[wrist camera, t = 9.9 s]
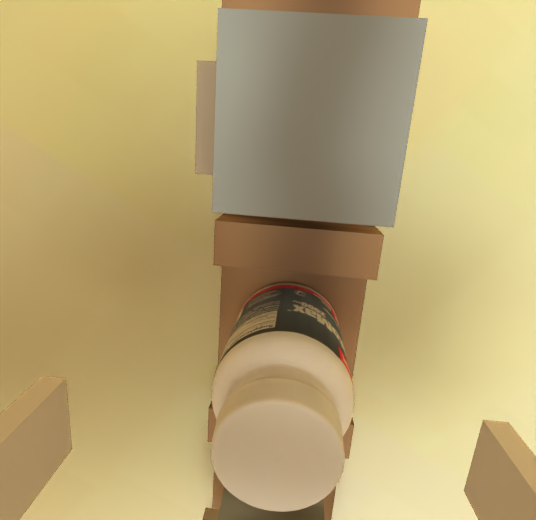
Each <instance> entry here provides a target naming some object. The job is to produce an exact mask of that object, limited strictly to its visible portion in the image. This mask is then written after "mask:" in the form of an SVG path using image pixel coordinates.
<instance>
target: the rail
mask: <svg viewBox="0 0 536 520" xmlns="http://www.w3.org/2000/svg"><path fill="white" fill-rule="evenodd" d="M420 2H421V0H222V8H218V33H217V62H212V61H197V106H196V163H195V173H196V174H209V175H213V197H212V212H217V213H224V214H223V215H222V216H220V217H219V218H218V219H216V220H215V235H214V265H220V266H222V277H221V303H220V329H219V354H218V364H219V362H220V359H221V356H222V354H223V351H224V349H225V346H226V344H227V341H228V339H229V336H230V334H231V332H232V329H233V327H234V324H235V322H236V319H237V317H238V314H239V312H240V310H241V308H242V307H243V305H244V304H245V302H246V301H247V300H248V299H249V298H250V297H251V296H252V295H253V294H254V293H256V292H257V291H259V290H260V289H262V288H264V287H267V286H269V285H273V284H277V283H296V284H300V285H304V286H307V287H309V288H311V289H313V290H315V291H316V292H318V293H319V294H321V295H322V296H323V297H324V298H325V299H326V300H327V301H328V302H329V304H330V305H331V306H332V308H333V310H334V311H335V314H336V316H337V319H338V322H339V326H340V331H341V336H342V340H343V345H344V349H345V354H346V358H347V362H348V366H349V370H350V375H351V378H352V376H353V369H354V363H355V356H356V349H357V343H358V336H359V329H360V323H361V316H362V309H363V302H364V296H365V289H366V282H367V279H371V280H377V275H378V269H379V263H380V256H381V250H382V244H383V237H384V235H383V234H382V233H381V232H380V231H379V230H378V229H377V228H376V227H375V226H383V227H394V222H395V216H396V209H397V203H398V197H399V191H400V185H401V179H402V173H403V167H404V161H405V154H406V148H407V142H408V136H409V130H410V124H411V118H412V112H413V106H414V99H415V93H416V87H417V81H418V75H419V69H420V63H421V57H422V51H423V44H424V38H425V32H426V26H427V20H428V18H418V15H419V8H420ZM216 421H217V420H216V417H215V414H214V411H213V406H212V401H211V404H210V406H209V419H208V442H212V438H213V434H214V429H215V426H216ZM353 428H354V423H353V418H352V419H351V422H350V425H349V427H348V429H347V431H346V433H345V434H344V436H343V445H344V454H345V458H348V459H349V453H350V447H351V440H352V434H353ZM335 489H336V486H335V487H334V489H333V490H332V491H331V493H330V494H328V495H327V496H326V497H325V498H324V499H322V500H320V501H319V502H318V503H316V504H314V505H311V506H309V507H307V508H304V509H300V510H295V511H286V512H280V511H268V510H264V509H260V508H256V507H253V506H251V505H248V504H247V503H245V502H243V501H241V500H239V499H238V498H236V497H235V496H234V495H233V494H231V493H230V492H229V491H228V490H227V489H226V488H225V487H224V486H223V485H222V483H221V481H220V480H219V479H218V477H217V475H216V473H215V471H214V482H213V508H212V509H210V508H206V509H205V513H204V517H203V520H331V516H332V509H333V503H334V496H335Z"/></svg>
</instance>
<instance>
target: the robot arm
mask: <svg viewBox="0 0 536 520" xmlns="http://www.w3.org/2000/svg"><path fill="white" fill-rule="evenodd" d="M71 450H72V441H71V430H70V420H69V409H68V398H67V387H66V378H59V377H49V376H42V377H41V378H40V379H38V380H37V381H36V382H35V383H34V384H33V385H32V386H31V387H30V388H28V389H27V390H26V391H25V392H24V393H23V394H22V395H21V396H20V397H18V398H17V399H16V400H15V401H14V402H13V403H12V404H11V405H10V406H8V407H7V408H6V409H5V410H4V411H3V412H2V413H1V414H0V520H20V518H21V517H22V516H23V514H24V513H25V512H26V510H27V509H28V508H29V506H30V505H31V503H32V502H33V501H34V499H35V498H36V497H37V495H38V494H39V493H40V491H41V490H42V489H43V487H44V486H45V485H46V483H47V482H48V481H49V479H50V478H51V476H52V475H53V474H54V472H55V471H56V470H57V468H58V467H59V466H60V464H61V463H62V462H63V460H64V459H65V458H66V456H67V455H68V454H69V452H70V451H71ZM464 492H465V494H466V496H467V498H468V500H469V502H470V504H471V506H472V508H473V510H474V512H475V514H476V516H477V518H478V520H536V456H535V455H534V454H533V452H532V451H531V450H530V449H529V447H528V446H527V445H526V444H525V442H524V441H523V440H522V439H521V437H520V436H519V435H518V434H517V432H516V431H515V430H514V429H513V427H512V426H511V425H510V424H509V422H499V421H489V420H483V422H482V426H481V429H480V433H479V437H478V440H477V444H476V448H475V451H474V455H473V459H472V462H471V466H470V470H469V474H468V477H467V481H466V485H465V488H464Z"/></svg>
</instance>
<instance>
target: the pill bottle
mask: <svg viewBox="0 0 536 520" xmlns="http://www.w3.org/2000/svg"><path fill="white" fill-rule="evenodd" d="M212 406H213V411H214V414H215V417H216V420H217V421H216V426H215V429H214V434H213V438H212V442H211V461H212V465H213V468H214V471H215V473H216V475H217V477H218V479H219V480H220V481H221V483H222V485H223V486H224V487H225V488H226V489H227V490H228V491H229V492H230V493H231V494H233V495H234V496H235V497H236V498H238V499H239V500H241V501H243V502H245V503H247V504H248V505H251V506H253V507H256V508H260V509H264V510H268V511H280V512H286V511H295V510H300V509H304V508H307V507H309V506H311V505H314V504H316V503H318V502H319V501H320V500H322V499H324V498H325V497H326V496H327V495H328V494H330V493H331V491H332V490H333V489H334V487H335V486H336V485H337V483H338V482H339V480H340V478H341V475H342V473H343V468H344V459H345V454H344V445H343V436H344V434H345V433H346V431H347V429H348V427H349V425H350V422H351V419H352V416H353V411H354V389H353V383H352V378H351V375H350V370H349V366H348V362H347V358H346V354H345V349H344V345H343V340H342V336H341V331H340V326H339V322H338V319H337V316H336V314H335V311H334V310H333V308H332V306H331V305H330V304H329V302H328V301H327V300H326V299H325V298H324V297H323V296H322V295H321V294H319V293H318V292H316V291H315V290H313V289H311V288H309V287H307V286H304V285H300V284H296V283H277V284H273V285H269V286H267V287H264V288H262V289H260V290H259V291H257V292H256V293H254V294H253V295H252V296H251V297H250V298H249V299H248V300H247V301H246V302H245V304H244V305H243V307H242V308H241V310H240V312H239V314H238V317H237V319H236V322H235V324H234V327H233V329H232V332H231V334H230V336H229V339H228V341H227V344H226V346H225V349H224V351H223V354H222V356H221V359H220V362H219V364H218V367H217V369H216V372H215V376H214V380H213V384H212Z"/></svg>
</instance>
